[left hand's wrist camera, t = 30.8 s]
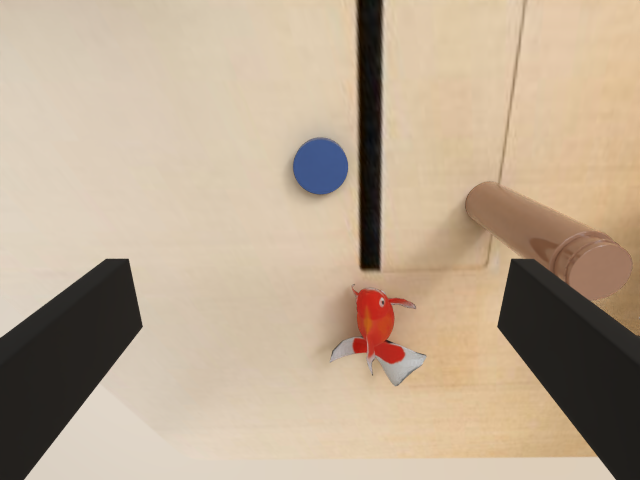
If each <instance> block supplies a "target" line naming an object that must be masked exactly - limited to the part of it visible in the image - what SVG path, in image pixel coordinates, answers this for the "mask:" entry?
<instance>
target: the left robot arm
mask: <svg viewBox="0 0 640 480" xmlns="http://www.w3.org/2000/svg"><path fill="white" fill-rule="evenodd" d="M142 327H143V326H142V321H141V316H140V311H139V306H138V302H137V297H136V292H135V287H134V282H133V278H132V273H131V268H130V263H129V259H105V260H104V261H103V262H101V263H100V264H99V265H97V266H96V267H95V268H93V269H92V270H91V271H89V272H88V273H87V274H85V275H84V276H83V277H81V278H80V279H79V280H77V281H76V282H75V283H73V284H72V285H71V286H69V287H68V288H67V289H65V290H64V291H63V292H61V293H60V294H59V295H57V296H56V297H55V298H53V299H52V300H51V301H49V302H48V303H47V304H45V305H44V306H43V307H41V308H40V309H39V310H37V311H36V312H35V313H33V314H32V315H31V316H29V317H28V318H27V319H25V320H24V321H23V322H21V323H20V324H19V325H17V326H16V327H14V328H13V329H12V330H11V331H9V332H8V333H6V334H5V335H4V336H2V337H1V338H0V480H24V479H25V478H26V476H27V475H28V474H29V473H30V471H31V470H32V469H33V467H34V466H35V465H36V464H37V462H38V461H39V460H40V458H41V457H42V456H43V455H44V453H45V452H46V451H47V449H48V448H49V447H50V446H51V444H52V443H53V442H54V440H55V439H56V438H57V437H58V435H59V434H60V433H61V431H62V430H63V429H64V428H65V426H66V425H67V424H68V422H69V421H70V420H71V419H72V417H73V416H74V415H75V413H76V412H77V411H78V410H79V408H80V407H81V406H82V404H83V403H84V402H85V400H86V399H87V398H88V397H89V395H90V394H91V393H92V391H93V390H94V389H95V388H96V386H97V385H98V384H99V382H100V381H101V380H102V379H103V377H104V376H105V375H106V373H107V372H108V371H109V370H110V368H111V367H112V366H113V364H114V363H115V362H116V361H117V359H118V358H119V357H120V355H121V354H122V353H123V352H124V350H125V349H126V348H127V346H128V345H129V344H130V343H131V341H132V340H133V339H134V337H135V336H136V335H137V334H138V332H139V331H140V330H141V328H142ZM497 327H498V328H499V330H500V331H501V332H502V334H503V335H504V336H505V337H506V339H507V340H508V341H509V343H510V344H511V345H512V346H513V348H514V349H515V350H516V352H517V353H518V354H519V355H520V357H521V358H522V359H523V361H524V362H525V363H526V364H527V366H528V367H529V368H530V370H531V371H532V372H533V373H534V375H535V376H536V377H537V379H538V380H539V381H540V382H541V384H542V385H543V386H544V388H545V389H546V390H547V391H548V393H549V394H550V395H551V397H552V398H553V399H554V400H555V402H556V403H557V404H558V406H559V407H560V408H561V410H562V411H563V412H564V413H565V415H566V416H567V417H568V419H569V420H570V421H571V422H572V424H573V425H574V426H575V428H576V429H577V430H578V431H579V433H580V434H581V435H582V437H583V438H584V439H585V440H586V442H587V443H588V444H589V446H590V447H591V448H592V449H593V451H594V452H595V453H596V455H597V456H598V457H599V458H600V460H601V461H602V462H603V464H604V465H605V466H606V467H607V469H608V470H609V471H610V473H611V474H612V475H613V476H614V478H615V479H616V480H640V336H638V335H635V334H634V333H632V332H631V331H630V330H628V329H627V328H626V327H624V326H623V325H622V324H620V323H619V322H617V321H616V320H615V319H613V318H612V317H611V316H609V315H608V314H607V313H605V312H604V311H603V310H601V309H600V308H599V307H597V306H596V305H595V304H593V303H592V302H591V301H589V300H588V299H587V298H585V297H584V296H583V295H581V294H580V293H579V292H577V291H576V290H575V289H573V288H572V287H571V286H569V285H568V284H567V283H565V282H564V281H563V280H561V279H560V278H559V277H557V276H556V275H555V274H553V273H552V272H551V271H549V270H548V269H547V268H545V267H544V266H543V265H541V264H540V263H539V262H537V261H536V260H535V259H511V263H510V268H509V273H508V278H507V282H506V287H505V292H504V297H503V302H502V306H501V311H500V316H499V321H498V326H497Z"/></svg>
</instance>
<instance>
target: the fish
mask: <svg viewBox="0 0 640 480" xmlns="http://www.w3.org/2000/svg"><path fill="white" fill-rule="evenodd" d="M353 286H354V284H353V285H352V290H353V293H354V294H355V296H356V304H357V312H358V314H357V322H358V328H359V330H360V332H361V334H362V336H363V337H353V338H349V339H346V340H343V341H342V342H341V343H340V344H339V345H338V346H337V347H336V348H335V349H334V350H333V352H332V355H331V359H330V362H332V361H333V360H336V359H338V358H340V357H343V356H346V355H350V354H355V353H367V358H366V359H367V363H368V366H369V369H370V371H371V373H372V375H373V372H372V361H373V360H374V359H375V357H376V358H377V360H378V361H379V362H380V364H381V366H382V368H383V369H384V371H385V373H386V375H387V376H388V378H389V380H390V381H391V382H392V384H393V385H394V386H398V385H399V384H400V383H401V382H402V381H403V380H404V379H405V378H406V377H407V376H408V375H409V374H411V373H412V372H413V371H414V370H416V369H417V368H419V367H420V366H421V365H422V364H423V362H424V360H425V358H426V355H424V354H420V353H417V352H414V351H412V350H410V349H407V348H405V347H403V346H400V345H398V344H395V343H393V342H390V341H388V340H386V339H388V337H389V336H390V334H391V332H392V329H393V325H394V312H393V308H392V305H394V304H399V305H402V306H404V307H407V308H414V309H416V306H415V305H414V304H413V303H411V302H408V301H407V300H405V299H400V298H391V299H388V298H387V296H386V295H385V292H383V291H381V290H378V289H375V288H365V289H363V290H361V291H360V292H359V293H358V292H356V291H355V290H354V289H353Z"/></svg>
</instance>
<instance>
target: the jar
mask: <svg viewBox="0 0 640 480" xmlns="http://www.w3.org/2000/svg"><path fill="white" fill-rule="evenodd" d="M466 211H467V213H468V215H469V216H470V217H471V218H472V219H473V220H474V221H475V222H477V223H478V224H479V225H481V226H482V227H483V228H484V229H486V230H487V231H488V232H489V233H491V234H492V235H493V236H494V237H496V238H497V239H498V240H500V241H501V242H502V243H503V244H505V245H506V246H507V247H508V248H510V249H511V250H512V251H513V252H515V253H516V254H517V255H519V256H520V257H521V258H522V259H535V260H536V261H537V262H539V263H540V264H541V265H543V266H544V267H545V268H547V269H548V270H549V271H551V272H552V273H553V274H555V275H556V276H557V277H559V278H560V279H561V280H563V281H564V282H565V283H567V284H568V285H569V286H571V287H572V288H573V289H575V290H576V291H577V292H579V293H580V294H581V295H583V296H584V297H585V298H587V299H588V300H589V301H590V300H597V299H601V298H605V297H607V296H610V295H612V294H613V293H615V292H617V291H618V290H619V289H620V288H621V287H622V286H623V285H624V284H625V283H626V282H627V280H628V279H629V277H630V274H631V271H632V259H631V256H630V255H629V253H628V252H627V251H626V250H625V249H624V248H622V247H621V246H620V245H619V244H617V243H615V242H614V241H613V240H612V239H611V238H610V237H609V236H608V235H606V234H605V233H602V232H600V231H598V230H596V229H594V228H592V227H590V226H588V225H586V224H583V223H581V222H579V221H577V220H575V219H573V218H571V217H569V216H567V215H564V214H562V213H560V212H558V211H556V210H554V209H552V208H550V207H548V206H545V205H543V204H541V203H539V202H537V201H535V200H533V199H531V198H529V197H526V196H524V195H522V194H520V193H518V192H516V191H514V190H512V189H510V188H507V187H505V186H503V185H501V184H499V183H496V182H484V183H481V184H479V185H478V186H476V187H475V188H474V189H473V190H472V191H471V192H470V193H469V195H468V197H467V200H466Z"/></svg>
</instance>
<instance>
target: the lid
mask: <svg viewBox="0 0 640 480" xmlns="http://www.w3.org/2000/svg"><path fill="white" fill-rule="evenodd" d="M293 170H294V175H295V178H296V180H297V181H298V183H299V184H300V185H301V186H302V187H303V188H304V189H305V190H307V191H309V192H311V193H314V194H327V193H330V192H333V191H334V190H336V189H337V188H339V187H340V186H341V185H342V183H343V182H344V180H345V178H346V176H347V172H348V162H347V158H346V155H345V153H344V151H343V149H342V148H341V147H340V146H339V145H338V144H337V143H336V142H334V141H333V140H331V139H328V138H314V139H311V140H309V141H307V142H305V143H304V144H303V145H302V146H301V147H300V148H299V150H298V152H297V154H296V156H295V159H294V163H293Z"/></svg>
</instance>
